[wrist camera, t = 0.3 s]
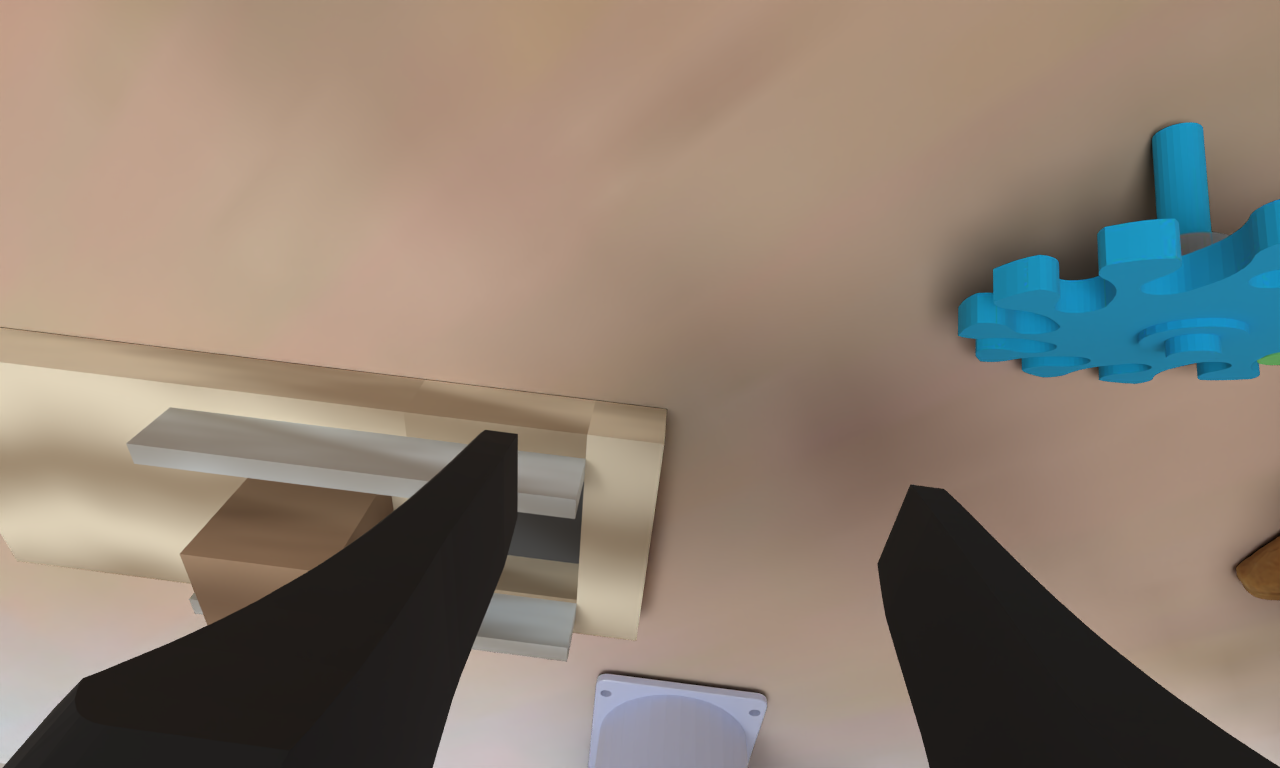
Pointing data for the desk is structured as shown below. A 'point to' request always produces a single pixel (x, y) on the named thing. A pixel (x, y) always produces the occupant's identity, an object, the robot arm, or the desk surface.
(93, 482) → the channel board
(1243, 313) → the gear
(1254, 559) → the stuffed squirrel
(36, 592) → the desk surface
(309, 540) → the walnut cube
